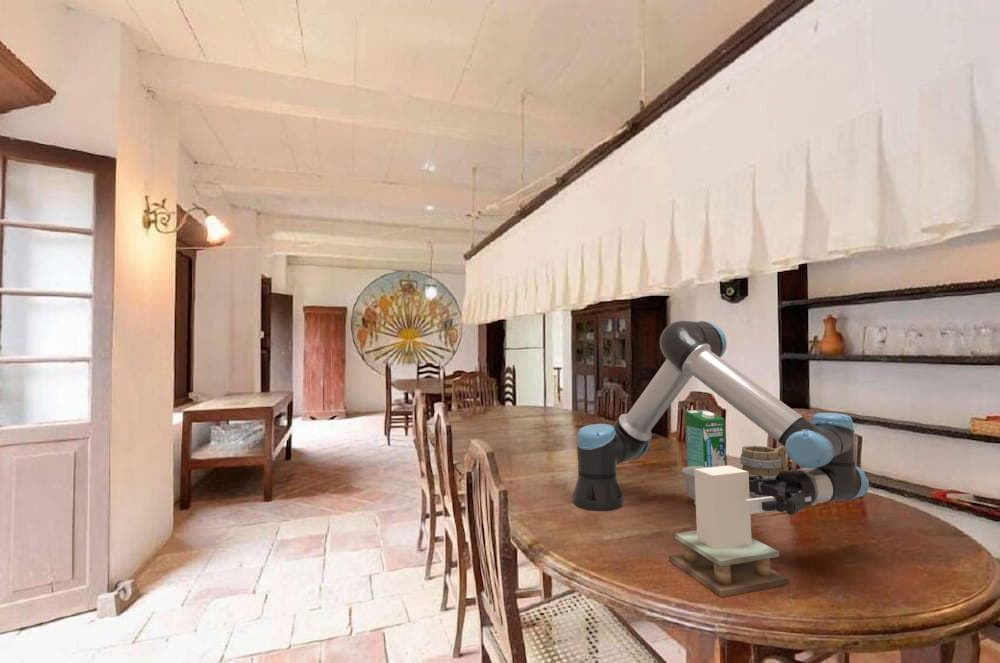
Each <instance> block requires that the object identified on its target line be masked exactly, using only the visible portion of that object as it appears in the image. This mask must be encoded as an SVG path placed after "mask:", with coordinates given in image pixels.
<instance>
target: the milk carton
mask: <svg viewBox="0 0 1000 663" xmlns="http://www.w3.org/2000/svg"><path fill="white" fill-rule="evenodd" d="M684 416H685V441H686V442H685V443H686V444H685V445H686V463H687V464H686V465H687V466H686V467H691V466H702V467H718V466H728V464H727V446H726V444H727V443H726V425H725V424H726V423H725V422H726V421H725V418H724V417H721V416H719V415H717V414H716V413H714V412H711V411H710V410H708V409H695V410H694V409H693V410H692V409H691V410H685V411H684Z"/></svg>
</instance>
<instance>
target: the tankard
mask: <svg viewBox="0 0 1000 663" xmlns="http://www.w3.org/2000/svg"><path fill="white" fill-rule="evenodd" d="M741 452H742V453H741V454H740V457H739V460H740V464H741V465H742V467H741V469H742V470H745V471H748V473H749V476H758V475H760V476H762V478H763V479H768V478H773V479H775V478H776V477H777V475H778V474H779V473H780V472H782V471H788V470H789V467H788V465H787V462H786V456H785V452H786V449H785V447H784V446H783V445H782V444H780V445H779V446H778V447H776V448H773V447H769V446H762V445H745V446H742V447H741ZM759 491H761V488H759ZM761 492H762V491H761ZM749 495H750V497H752V498H761V497H769V496H763V495H756V494H755V493H754V492H749ZM775 499H776V498H775Z"/></svg>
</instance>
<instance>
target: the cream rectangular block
mask: <svg viewBox="0 0 1000 663" xmlns="http://www.w3.org/2000/svg"><path fill="white" fill-rule="evenodd" d="M694 472H695V497H696V505H695V516H696V517H695V518H696V519H695V520H696V521H695V522H696V530H697V540H699V541H701V542H703V543H704V544H706V545H708V546H709V547H711V548H713V549H715V550H719V549H725V548H731V547H737V546H743V545H750V544H752V539H751V538H752V524H751V523H752V522H751V521H752V519H751V517H752V516H751V514H749V515H748V514H746V513H745V499H751V496H750V495H749V473H748V471H745V470H742V468H738V467H735V466H732V465H728V464H727V466H718V467H709V468H699V469H694Z"/></svg>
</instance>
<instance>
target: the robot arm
mask: <svg viewBox="0 0 1000 663" xmlns="http://www.w3.org/2000/svg"><path fill="white" fill-rule="evenodd" d="M726 338H727V337H726V335H725V333H724V331H723V330H722V329H721V328H720V327H719V326H718V325H717V324H715V323H712V322H708V321H705V320H699V321H691V320H690V321H688V320H678V321H675V322H672V323H669V324H668V325H667V326H666V327H665V328H664V329H663V330H662V333H661V334H660V336H659V348H660V350H661V353H662V355H663V356H664V357H665V358H666V359H665V361H664V362H663V363H662V365H661V366H660V368H659V369H658V371H657V372H656V373H655V375H654V376H653V377H652V379H651V380H650V382H649V383H648V385H647V386H646V387H645V389H644V391H643V392H642V393H641V395H640V396H639V397H638V398H637V400H636V401H635V403H634V404H633V406H632V407H631V409H630V410H629V411H628V412H627V413H623V414H620V415H619V416H618V418H617V419H616V420H615V422H614V424H613V425H611V424H609V423H608V424H607V423H595V424H593V423H592V424H587V425H584V426H582V427H581V428H579V430H578V431H577V433H576V434H577V436H576V438H577V439H576V446H577V449H576V450H577V471H578V472H577V475H578V476H577V477H578V478H577V480H576V482H575V483H576V484H575V487H574V490H573V495H572V497H573V499H572V500H573V501H572V502H573V504H574V505H576V506H577V507H579V508H582V509H586V510H591V511H612V510H617V509H619V508H621V507H623V505H624V497H623V496H624V495H623V493H622V489H621V487H620V484H619V481H618V479H617V465H618V464H622V463H625V462H629V461H630V462H631V461H634V460H638V459H640V458H642V457H644V455H645V454H647V452H648V450H649V448H650V445H651V443H650V440H651V439H652V436H653V435H652V429H653V428H654V427H655V425H656V424H657V423H658V421H659V420H660V419H661V418H662V416H663V415H664V413H665V412H666V411H667V409H668V408H669V407H670V405H671V404H672V403H673V402H674V401H675V399H676V398H677V396H678V395H679V394H680V393H681V391H682V390H683V389H684V387H685V386H686V385H687V384H688V382H689V381H690V379H691V378H692V377H694V378H696V379H697V380H698V381H699V382H701V383H702V384H703V385H705V386H706V387H707V388H709V389H710V390H711V391H712V392H714V393H715V394H716V395H718V397H720V398H721V399H723V400H724V401H725V402H727V403H728V404H729V405H731V406H732V407H733V408H735V410H736V411H738V412H739V413H741V414H742V416H743V415H744V417H746V418H747V419H748V420H749V421H751V422H752V423H753V424H755V425H756V426H757V427H759V428H760V429H761V430H762V431H764V432H765V433H766V434H768V435H769V436H770V437H771V438H773V439H774V440H775V441H777V443H779V444H780V445H783V446H784V447H785V449H786V450H785V452H786V455H787V456H788V458H789V459H790V460H791V462H793V463H794V464H796V465H797V466H800V467H801V468H798V469H790V470H789V469H788V471H782V472H781V471H779V472H780V473H779V474H778V475H777V477H776V478H775V479H773V478H768V479H763V478H762V476H760V475H758V476H749V492H754V493H755V494H756V495H763V496H769V497H761V498H758V497H752V498H750V499H745V513H746V514H748V515H749V514H750V515H756V514H763V513H770V512H776V511H777V512H780V513H784V512H786V514H788V515H790V516H793V515H795V514H797V513H798V512H800V511H801V510H802V509H803V508H805V507H807V506H816V504H822V503H823V504H824V503H829V502H836V501H839V502H840V501H850V500H853V499H857V498H861V497H863V496H865V495H866V494H867V493H868V491H869V488H870V482H869V479H868V477H867V476H866V473H865V471H864V470H863V469H862V468H860V467H859V466H858V465H857V464H856V454H855V453H856V450H855V435H854V434H855V428H854V424H853V418H852V417H851V416H850V415H847V414H844V413H837V412H836V413H835V412H818V413H814V414H813V417H812V422H810V421H809V420H808V419H806V418H805V417H803V416H802V415H801V414H800V413H799V412H797V411H795V410H794V409H792V408H791V407H789V406H788V405H787V404H786V403H784V402H783V401H781V400H780V399H779V398H777V397H776V396H774V395H773V394H772V393H770V392H768V390H766V389H765V388H763V387H762V386H761V385H759V384H758V383H756V382H755V381H753V380H752V379H751V378H749V377H748V376H746V375H745V374H743V373H742V372H740V370H738V369H737V368H735V367H734V366H732V365H731V364H730V363H728V362H727V361H725V360H724V359H723V358H722V356H723V355H724V354H725V352H726V350H727V339H726ZM759 488H761V491H762V492H761V491H759ZM775 498H776V500H775Z"/></svg>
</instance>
